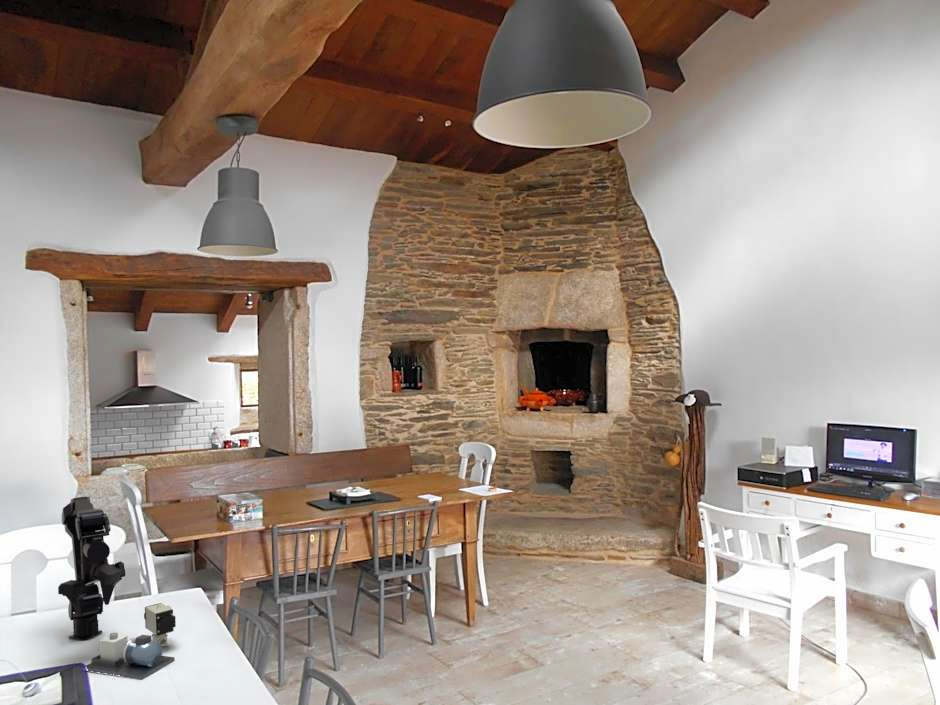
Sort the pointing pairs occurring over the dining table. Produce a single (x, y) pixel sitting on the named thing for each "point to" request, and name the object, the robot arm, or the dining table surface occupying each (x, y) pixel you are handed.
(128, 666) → the motor mount
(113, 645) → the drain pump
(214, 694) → the dining table surface
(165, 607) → the pneumatic valve
